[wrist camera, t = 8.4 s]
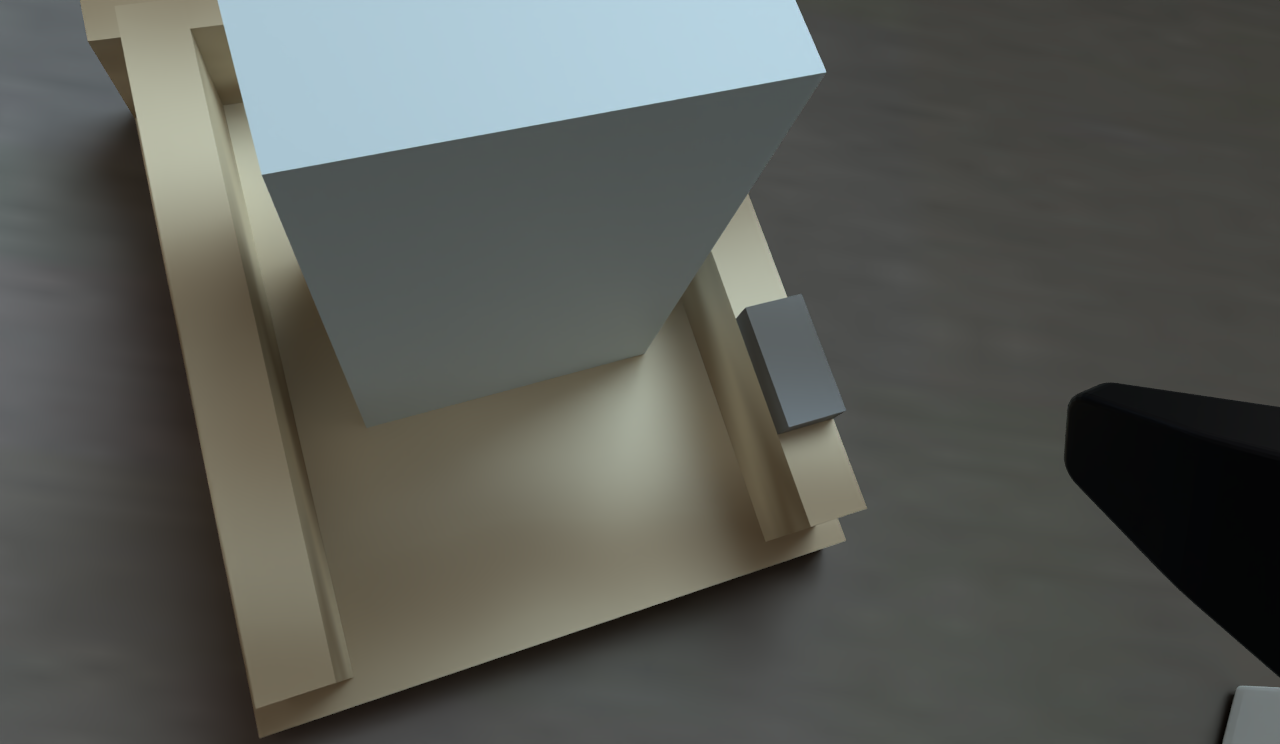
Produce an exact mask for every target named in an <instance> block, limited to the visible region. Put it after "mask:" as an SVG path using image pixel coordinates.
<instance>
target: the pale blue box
mask: <svg viewBox="0 0 1280 744" xmlns="http://www.w3.org/2000/svg"><path fill="white" fill-rule="evenodd" d="M217 1H218V5H219V9H220V13H221V17H222V20H223V24H224V28H225V32H226V36H227V40H228V44H229V48H230V52H231V56H232V60H233V64H234V68H235V72H236V76H237V80H238V84H239V88H240V92H241V96H242V99H243V103H244V107H245V111H246V115H247V119H248V123H249V127H250V131H251V135H252V139H253V143H254V147H255V151H256V155H257V159H258V163H259V167H260V171H261V174H262V177H263V179H264V182H265V184H266V187H267V189H268V192H269V194H270V196H271V199H272V201H273V204H274V206H275V208H276V211H277V213H278V216H279V218H280V220H281V223H282V225H283V228H284V230H285V233H286V235H287V237H288V240H289V242H290V245H291V247H292V249H293V252H294V254H295V257H296V259H297V262H298V264H299V266H300V269H301V271H302V274H303V276H304V278H305V281H306V283H307V286H308V288H309V291H310V293H311V295H312V298H313V300H314V303H315V305H316V307H317V310H318V312H319V315H320V317H321V319H322V322H323V324H324V327H325V329H326V332H327V334H328V336H329V339H330V341H331V344H332V346H333V348H334V351H335V353H336V356H337V358H338V361H339V363H340V365H341V368H342V370H343V373H344V375H345V377H346V380H347V382H348V385H349V387H350V389H351V392H352V394H353V397H354V399H355V402H356V404H357V406H358V409H359V411H360V414H361V416H362V418H363V421H364V423H365V426H366V428H369V427H372V426H376V425H380V424H384V423H387V422H391V421H395V420H399V419H402V418H406V417H410V416H414V415H417V414H421V413H425V412H429V411H432V410H436V409H440V408H444V407H447V406H451V405H455V404H459V403H462V402H466V401H470V400H474V399H477V398H481V397H485V396H489V395H492V394H496V393H500V392H503V391H507V390H511V389H515V388H518V387H522V386H526V385H530V384H533V383H537V382H541V381H545V380H548V379H552V378H556V377H560V376H563V375H567V374H571V373H575V372H578V371H582V370H586V369H590V368H593V367H597V366H601V365H605V364H608V363H612V362H616V361H620V360H623V359H627V358H631V357H635V356H638V355H642V354H645V352H646V351H647V349H648V347H649V346H650V344H651V343H652V341H653V340H654V338H655V337H656V335H657V334H658V332H659V330H660V329H661V327H662V326H663V324H664V323H665V321H666V320H667V318H668V317H669V315H670V313H671V312H672V310H673V309H674V307H675V306H676V304H677V303H678V301H679V300H680V298H681V296H682V295H683V293H684V292H685V290H686V289H687V287H688V286H689V284H690V283H691V281H692V279H693V278H694V276H695V275H696V273H697V272H698V270H699V269H700V267H701V265H702V264H703V262H704V261H705V259H706V258H707V256H708V255H709V253H710V252H711V250H712V248H713V247H714V245H715V244H716V242H717V241H718V239H719V238H720V236H721V235H722V233H723V231H724V230H725V228H726V227H727V225H728V224H729V222H730V221H731V219H732V218H733V216H734V214H735V213H736V211H737V210H738V208H739V207H740V205H741V204H742V202H743V201H744V199H745V197H746V196H747V194H748V193H749V191H750V190H751V188H752V187H753V185H754V183H755V182H756V180H757V179H758V177H759V176H760V174H761V173H762V171H763V170H764V168H765V166H766V165H767V163H768V162H769V160H770V159H771V157H772V156H773V154H774V153H775V151H776V149H777V148H778V146H779V145H780V143H781V142H782V140H783V139H784V137H785V136H786V134H787V132H788V131H789V129H790V128H791V126H792V125H793V123H794V122H795V120H796V118H797V117H798V115H799V114H800V112H801V111H802V109H803V108H804V106H805V105H806V103H807V101H808V100H809V98H810V97H811V95H812V94H813V92H814V91H815V89H816V88H817V86H818V84H819V83H820V81H821V80H822V78H823V77H824V75H825V74H826V70H825V68H824V65H823V63H822V61H821V59H820V56H819V54H818V52H817V49H816V47H815V45H814V42H813V40H812V38H811V35H810V33H809V31H808V28H807V26H806V24H805V22H804V19H803V17H802V15H801V12H800V10H799V8H798V5H797V3H796V1H795V0H217Z"/></svg>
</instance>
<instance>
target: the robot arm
mask: <svg viewBox="0 0 1280 744" xmlns="http://www.w3.org/2000/svg"><path fill="white" fill-rule="evenodd" d="M1064 462H1065V466H1066V469H1067V471H1068V473H1069V475H1070V477H1071V478H1072V480H1073V481H1074V482H1075V483H1076V484H1077V485H1078V486H1079V487H1080V488H1081V489H1082V491H1083V492H1084V493H1085V494H1086V495H1087V496H1088V497H1089V498H1090V499H1091V500H1092V501H1093V502H1094V503H1095V504H1096V505H1097V506H1098V507H1099V508H1100V509H1101V510H1102V511H1103V512H1104V513H1105V514H1106V515H1107V516H1108V518H1109V519H1110V520H1111V521H1112V522H1113V523H1114V524H1115V525H1116V526H1117V527H1118V528H1119V529H1120V530H1121V531H1122V532H1123V533H1124V534H1125V535H1126V536H1127V537H1128V538H1129V539H1130V540H1131V541H1132V542H1133V543H1134V544H1135V546H1136V547H1137V548H1138V549H1139V550H1140V551H1141V552H1142V553H1143V554H1144V555H1145V556H1146V557H1147V558H1148V559H1149V560H1150V561H1151V562H1152V563H1153V564H1154V565H1155V566H1156V567H1157V568H1158V569H1159V570H1160V571H1161V572H1162V573H1163V574H1164V575H1165V576H1166V577H1167V578H1168V579H1169V580H1170V581H1171V582H1172V583H1173V584H1174V585H1175V586H1176V587H1177V588H1178V589H1179V590H1180V591H1181V592H1182V593H1183V594H1184V595H1185V596H1187V597H1188V598H1189V599H1190V600H1191V601H1192V602H1193V603H1194V604H1195V605H1197V606H1198V607H1199V608H1200V609H1201V610H1202V611H1203V612H1205V613H1206V614H1207V615H1208V616H1209V617H1210V618H1212V619H1213V620H1214V621H1215V622H1216V623H1217V624H1218V625H1220V626H1221V627H1222V628H1223V629H1224V630H1225V631H1227V632H1228V633H1229V634H1230V635H1231V636H1232V637H1233V638H1235V639H1236V640H1237V641H1238V642H1239V643H1240V644H1242V645H1243V646H1244V647H1245V648H1246V649H1247V650H1248V651H1250V652H1251V653H1252V654H1253V655H1254V656H1255V657H1257V658H1258V659H1259V660H1260V661H1261V662H1262V663H1263V664H1265V665H1266V666H1267V667H1268V668H1269V669H1270V670H1272V671H1273V672H1274V673H1275V674H1276V675H1277V676H1278V677H1280V407H1276V406H1269V405H1262V404H1255V403H1248V402H1241V401H1235V400H1228V399H1221V398H1214V397H1207V396H1201V395H1194V394H1187V393H1180V392H1173V391H1166V390H1160V389H1153V388H1146V387H1139V386H1132V385H1126V384H1119V383H1103V384H1099V385H1097V386H1095V387H1093V388H1090V389H1088V390H1086V391H1083V392H1081V393H1079V394H1077V395H1075V396H1074V397H1073V398H1072V399H1071V401H1070V402H1069V404H1068V409H1067V420H1066V435H1065V449H1064Z"/></svg>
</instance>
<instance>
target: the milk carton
mask: <svg viewBox="0 0 1280 744" xmlns="http://www.w3.org/2000/svg"><path fill="white" fill-rule="evenodd" d="M1222 744H1280V688H1277V687H1257V686H1239V687H1237V689H1236V691H1235V695H1234V699H1233V702H1232V706H1231V710H1230V714H1229V718H1228V722H1227V726H1226V730H1225V734H1224V738H1223V742H1222Z"/></svg>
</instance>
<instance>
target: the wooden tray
mask: <svg viewBox="0 0 1280 744" xmlns="http://www.w3.org/2000/svg"><path fill="white" fill-rule="evenodd" d="M80 3H81V8H82V13H83V18H84V24H85V29H86V34H87V39H88V42H89V44H90V46H91V47H92V49H93V51H94V52H95V54H96V55H97V57H98V59H99V60H100V62H101V64H102V65H103V67H104V69H105V70H106V72H107V73H108V75H109V77H110V78H111V80H112V82H113V83H114V85H115V87H116V88H117V90H118V91H119V93H120V95H121V96H122V98H123V100H124V101H125V103H126V105H127V106H128V108H129V109H130V111H131V113H132V114H133V116H134V118H135V121H136V126H137V131H138V136H139V141H140V146H141V151H142V156H143V161H144V166H145V171H146V176H147V181H148V186H149V191H150V196H151V201H152V206H153V211H154V216H155V221H156V226H157V231H158V236H159V241H160V246H161V251H162V256H163V261H164V266H165V271H166V276H167V281H168V286H169V291H170V296H171V301H172V306H173V311H174V316H175V321H176V326H177V331H178V336H179V341H180V346H181V351H182V356H183V361H184V366H185V371H186V376H187V381H188V386H189V391H190V396H191V401H192V406H193V410H194V415H195V420H196V425H197V430H198V435H199V440H200V445H201V450H202V455H203V460H204V465H205V470H206V475H207V480H208V485H209V490H210V495H211V500H212V505H213V510H214V515H215V520H216V525H217V530H218V535H219V540H220V545H221V550H222V555H223V560H224V565H225V570H226V575H227V580H228V585H229V590H230V595H231V600H232V605H233V610H234V615H235V620H236V625H237V630H238V635H239V640H240V645H241V650H242V655H243V660H244V665H245V670H246V675H247V680H248V685H249V690H250V695H251V700H252V705H253V710H254V715H255V720H256V725H257V730H258V735H259V738H262V737H265V736H268V735H271V734H274V733H277V732H280V731H283V730H286V729H289V728H292V727H295V726H298V725H301V724H304V723H307V722H310V721H313V720H316V719H319V718H322V717H325V716H328V715H331V714H334V713H337V712H339V711H342V710H345V709H348V708H351V707H354V706H357V705H360V704H363V703H366V702H369V701H372V700H375V699H378V698H381V697H384V696H387V695H390V694H393V693H396V692H399V691H402V690H405V689H408V688H411V687H414V686H417V685H420V684H422V683H425V682H428V681H431V680H434V679H437V678H440V677H443V676H446V675H449V674H452V673H455V672H458V671H461V670H464V669H467V668H470V667H473V666H476V665H479V664H482V663H485V662H488V661H491V660H494V659H497V658H500V657H503V656H506V655H508V654H511V653H514V652H517V651H520V650H523V649H526V648H529V647H532V646H535V645H538V644H541V643H544V642H547V641H550V640H553V639H556V638H559V637H562V636H565V635H568V634H571V633H574V632H577V631H580V630H583V629H586V628H589V627H592V626H594V625H597V624H600V623H603V622H606V621H609V620H612V619H615V618H618V617H621V616H624V615H627V614H630V613H633V612H636V611H639V610H642V609H645V608H648V607H651V606H654V605H657V604H660V603H663V602H666V601H669V600H672V599H675V598H678V597H680V596H683V595H686V594H689V593H692V592H695V591H698V590H701V589H704V588H707V587H710V586H713V585H716V584H719V583H722V582H725V581H728V580H731V579H734V578H737V577H740V576H743V575H746V574H749V573H752V572H755V571H758V570H761V569H763V568H766V567H769V566H772V565H775V564H778V563H781V562H784V561H787V560H790V559H793V558H796V557H799V556H802V555H805V554H808V553H811V552H814V551H817V550H820V549H823V548H826V547H829V546H832V545H835V544H838V543H841V542H844V541H846V539H845V536H844V534H843V531H842V528H841V525H840V523H839V520H838V518H840V517H843V516H846V515H849V514H852V513H855V512H858V511H861V510H864V509H867V507H866V504H865V502H864V499H863V496H862V494H861V491H860V488H859V486H858V483H857V480H856V478H855V475H854V472H853V470H852V467H851V465H850V462H849V459H848V457H847V454H846V451H845V449H844V446H843V443H842V441H841V438H840V435H839V433H838V430H837V428H836V425H835V422H834V420H833V418H835V417H836V416H838V415H840V414H841V413H843V412H845V411H846V409H845V406H844V404H843V401H842V398H841V396H840V393H839V391H838V388H837V385H836V383H835V380H834V377H833V375H832V372H831V370H830V367H829V364H828V362H827V359H826V357H825V354H824V351H823V349H822V346H821V343H820V341H819V338H818V336H817V333H816V330H815V328H814V325H813V323H812V320H811V317H810V315H809V312H808V310H807V307H806V304H805V302H804V299H803V296H802V294H799V295H794V296H790V297H787V295H786V293H785V290H784V287H783V285H782V282H781V279H780V277H779V274H778V271H777V269H776V266H775V264H774V261H773V258H772V256H771V253H770V250H769V248H768V245H767V242H766V240H765V237H764V234H763V232H762V229H761V227H760V224H759V221H758V219H757V216H756V213H755V211H754V208H753V205H752V203H751V200H750V197H749V195H748V194H747V196H746V197H745V199H744V201H743V202H742V204H741V205H740V207H739V208H738V210H737V211H736V213H735V214H734V216H733V218H732V219H731V221H730V222H729V224H728V225H727V227H726V228H725V230H724V231H723V233H722V235H721V236H720V238H719V239H718V241H717V242H716V244H715V245H714V247H713V248H712V250H711V252H710V253H709V255H708V256H707V258H706V259H705V261H704V262H703V264H702V265H701V267H700V269H699V270H698V272H697V273H696V275H695V276H694V278H693V279H692V281H691V283H690V284H689V286H688V287H687V289H686V290H685V292H684V293H683V295H682V296H681V298H680V300H679V301H678V303H677V304H676V306H675V307H674V309H673V310H672V312H671V313H670V315H669V317H668V318H667V320H666V321H665V323H664V324H663V326H662V327H661V329H660V330H659V332H658V334H657V335H656V337H655V338H654V340H653V341H652V343H651V344H650V346H649V347H648V349H647V351H646V352H645V354H642V355H638V356H635V357H631V358H627V359H623V360H620V361H616V362H612V363H608V364H605V365H601V366H597V367H593V368H590V369H586V370H582V371H578V372H575V373H571V374H567V375H563V376H560V377H556V378H552V379H548V380H545V381H541V382H537V383H533V384H530V385H526V386H522V387H518V388H515V389H511V390H507V391H503V392H500V393H496V394H492V395H489V396H485V397H481V398H477V399H474V400H470V401H466V402H462V403H459V404H455V405H451V406H447V407H444V408H440V409H436V410H432V411H429V412H425V413H421V414H417V415H414V416H410V417H406V418H402V419H399V420H395V421H391V422H387V423H384V424H380V425H376V426H372V427H369V428H366V426H365V423H364V421H363V418H362V416H361V414H360V411H359V409H358V406H357V404H356V402H355V399H354V397H353V394H352V392H351V389H350V387H349V385H348V382H347V380H346V377H345V375H344V373H343V370H342V368H341V365H340V363H339V361H338V358H337V356H336V353H335V351H334V348H333V346H332V344H331V341H330V339H329V336H328V334H327V332H326V329H325V327H324V324H323V322H322V319H321V317H320V315H319V312H318V310H317V307H316V305H315V303H314V300H313V298H312V295H311V293H310V291H309V288H308V286H307V283H306V281H305V278H304V276H303V274H302V271H301V269H300V266H299V264H298V262H297V259H296V257H295V254H294V252H293V249H292V247H291V245H290V242H289V240H288V237H287V235H286V233H285V230H284V228H283V225H282V223H281V220H280V218H279V216H278V213H277V211H276V208H275V206H274V204H273V201H272V199H271V196H270V194H269V192H268V189H267V187H266V184H265V182H264V179H263V177H262V174H261V171H260V167H259V163H258V159H257V155H256V151H255V147H254V143H253V139H252V135H251V131H250V127H249V123H248V119H247V115H246V111H245V107H244V103H243V99H242V96H241V92H240V88H239V84H238V80H237V76H236V72H235V68H234V64H233V60H232V56H231V52H230V48H229V44H228V40H227V36H226V32H225V28H224V24H223V20H222V17H221V13H220V9H219V5H218V1H217V0H80Z"/></svg>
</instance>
